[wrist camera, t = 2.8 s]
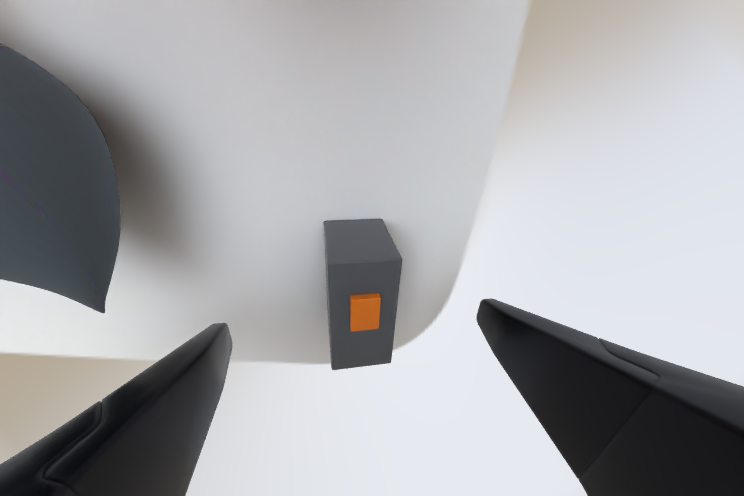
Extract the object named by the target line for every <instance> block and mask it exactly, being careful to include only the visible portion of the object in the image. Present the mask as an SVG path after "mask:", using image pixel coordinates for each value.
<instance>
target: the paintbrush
mask: <svg viewBox="0 0 744 496" xmlns="http://www.w3.org/2000/svg"><path fill="white" fill-rule="evenodd" d="M119 237H120V200H119V193H118V186H117V180H116V175H115V170H114V166H113V162H112V158H111V155H110V151H109V148H108V146H107V143H106V141H105V138H104V136H103V133H102V132H101V130H100V128H99V126H98V124H97V122H96V120H95V119H94V117H93V116H92V114H91V113H90V112H89V110H88V109H87V108H86V106H85V105H84V104H83V103H82V102H81V101H80V100H79V99H78V97H77V96H76V95H75V94H74V93H73V92H72V91H71V90H69V89H68V88H67V87H66V86H65V85H64V84H63V83H62V82H60V81H59V80H58V79H57V78H55V77H54V76H53V75H51V74H50V73H49V72H47V71H46V70H44V69H43V68H42V67H40V66H39V65H37V64H36V63H34V62H33V61H31V60H29V59H27V58H26V57H24V56H22V55H21V54H19V53H17V52H16V51H14V50H12V49H10V48H8V47H6V46H4V45H2V44H0V279H3V280H7V281H12V282H17V283H21V284H26V285H30V286H34V287H38V288H42V289H45V290H48V291H51V292H54V293H57V294H60V295H63V296H65V297H68V298H70V299H73V300H75V301H77V302H79V303H81V304H83V305H86V306H88V307H90V308H92V309H94V310H96V311H99V312H101V313H105V300H106V295H107V292H108V288H109V284H110V281H111V277H112V274H113V270H114V265H115V261H116V256H117V252H118V246H119Z"/></svg>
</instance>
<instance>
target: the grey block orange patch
mask: <svg viewBox="0 0 744 496" xmlns="http://www.w3.org/2000/svg"><path fill="white" fill-rule="evenodd" d="M324 237H325V259H326V281H327V304H328V322H329V337H330V352H331V367H332V370H337V369H345V368H353V367H361V366H370V365H378V364H385V363H391V357H392V348H393V339H394V330H395V320H396V311H397V302H398V293H399V283H400V274H401V265H402V258H401V256H400V254H399V252H398V250H397V248H396V246H395V244H394V242H393V240H392V238H391V236H390V234H389V232H388V230H387V228H386V226H385V224H384V222H383V220H382V219H369V220H341V221H324Z"/></svg>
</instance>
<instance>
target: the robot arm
mask: <svg viewBox="0 0 744 496" xmlns="http://www.w3.org/2000/svg"><path fill="white" fill-rule="evenodd" d="M477 322H478V325H479V326H480V328H481V330H482V332H483V334H484V336H485V338H486V340H487V342H488V344H489V346H490V347H491V349H492V351H493V353H494V355H495V356H496V358H497V359H498V361H499V362H500V364H501V365H502V367H503V368H504V370H505V371H506V373H507V374H508V376H509V377H510V379H511V380H512V381H513V383H514V384H515V386H516V388H517V389H518V390H519V392H520V393H521V395H522V396H523V398H524V399H525V401H526V402H527V404H528V405H529V407H530V408H531V410H532V411H533V412H534V414H535V416H536V417H537V418H538V420H539V422H540V423H541V425H542V426H543V428H544V429H545V431H546V432H547V434H548V435H549V437H550V438H551V440H552V441H553V442H554V444H555V446H556V447H557V448H558V450H559V451H560V453H561V454H562V456H563V457H564V459H565V460H566V462H567V463H568V465H569V466H570V468H571V469H572V471H573V472H574V474H575V475H576V477H577V478H578V479H579V481H580V483H581V484H582V486H583V487H584V489H585V491H586V493H587V495H588V496H744V387H743V386H740V385H737V384H733V383H731V382H727V381H724V380H721V379H718V378H715V377H712V376H709V375H706V374H703V373H700V372H697V371H694V370H691V369H688V368H685V367H682V366H679V365H675V364H673V363H669V362H667V361H663V360H660V359H657V358H654V357H651V356H648V355H645V354H642V353H640V352H637V351H634V350H631V349H628V348H625V347H623V346H620V345H617V344H614V343H611V342H608V341H606V340H603V339H600V338H599V339H598V338H597V337H594V336H591V335H589V334H586V333H583V332H581V331H578V330H575V329H573V328H570V327H567V326H565V325H562V324H559V323H556V322H553V321H551V320H548V319H546V318H543V317H540V316H537V315H535V314H532V313H530V312H527V311H524V310H521V309H519V308H516V307H513V306H511V305H508V304H505V303H503V302H500V301H497V300H495V299H484V300H482V301H481V302H480V306H479V309H478V313H477ZM231 351H232V339H231V335H230V332H229V328H228V325H227V324H226V323H217V324H212V325H211V326H209V327H208V328H206V329H205V330H203V331H202V332H201V333H199V334H198V335H196V336H195V337H193V338H192V339H190V340H189V341H187V342H186V343H184V344H183V345H181V346H180V347H178V348H177V349H176V350H174V351H173V352H171V353H170V354H168V355H167V356H165V357H164V358H162V359H161V360H159V361H158V362H156V363H155V364H154V365H152V366H151V367H149V368H148V369H146V370H145V371H143V372H142V373H140V374H139V375H138V376H136V377H134V378H133V379H131V380H130V381H129V382H127V383H126V384H124V385H123V386H121V387H120V388H118V389H117V390H115V391H114V392H112V393H111V394H109V395H108V396H107V397H105V398H104V399H102V402H101V401H99V402H97V403H96V404H94V405H93V406H91V407H90V408H88V409H87V410H85V411H84V412H82V413H81V414H79V415H78V416H76V417H75V418H73V419H72V420H70V421H69V422H67V423H66V424H64V425H63V426H61V427H60V428H58V429H56V430H55V431H53V432H52V433H50V434H49V435H47V436H45V437H44V438H42V439H41V440H39V441H38V442H36V443H34V444H33V445H31V446H30V447H28V448H26V449H25V450H23V451H21V452H20V453H18V454H17V455H15V456H13V457H12V458H10V459H8V460H7V461H5V462H4V463H2V464H0V496H185V495H186V492H187V489H188V486H189V483H190V481H191V478H192V475H193V472H194V469H195V467H196V464H197V461H198V458H199V455H200V453H201V450H202V447H203V444H204V441H205V439H206V436H207V433H208V430H209V427H210V425H211V422H212V419H213V416H214V413H215V410H216V408H217V405H218V402H219V399H220V396H221V393H222V390H223V387H224V383H225V378H226V374H227V369H228V364H229V360H230V356H231Z"/></svg>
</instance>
